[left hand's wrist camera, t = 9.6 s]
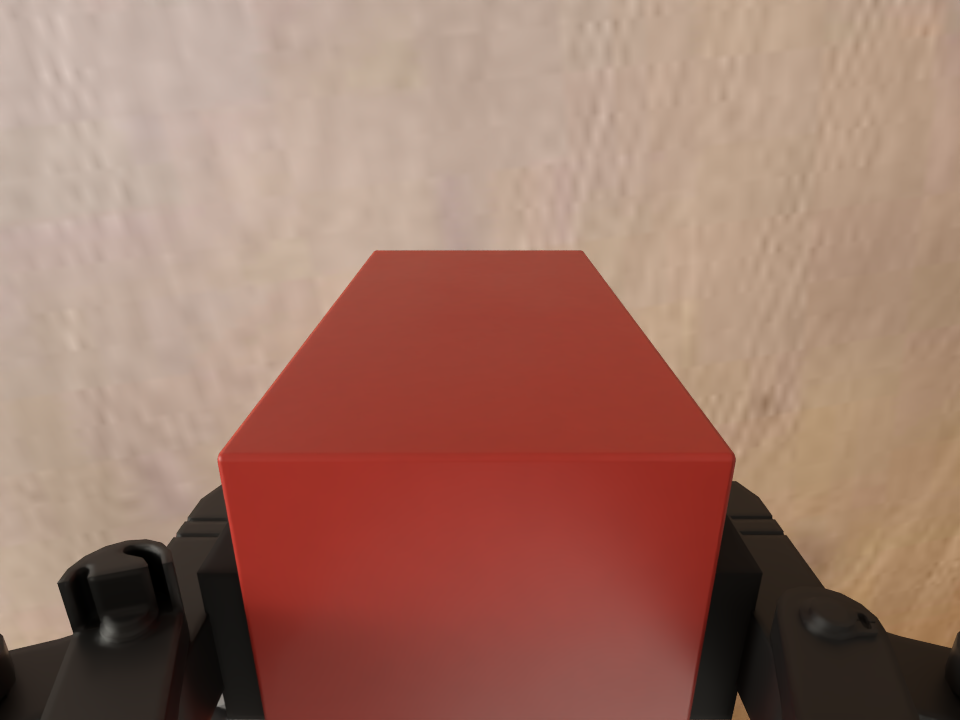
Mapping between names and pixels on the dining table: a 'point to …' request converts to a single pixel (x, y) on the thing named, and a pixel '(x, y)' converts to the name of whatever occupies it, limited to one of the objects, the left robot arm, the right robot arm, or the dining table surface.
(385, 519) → the block
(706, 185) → the dining table surface
